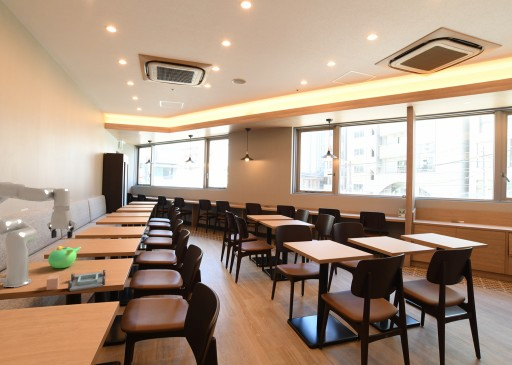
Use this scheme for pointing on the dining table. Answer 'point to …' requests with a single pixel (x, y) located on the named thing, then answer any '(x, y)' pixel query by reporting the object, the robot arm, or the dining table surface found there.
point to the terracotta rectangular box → (53, 282)
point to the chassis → (86, 281)
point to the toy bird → (62, 257)
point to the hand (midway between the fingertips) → (61, 237)
